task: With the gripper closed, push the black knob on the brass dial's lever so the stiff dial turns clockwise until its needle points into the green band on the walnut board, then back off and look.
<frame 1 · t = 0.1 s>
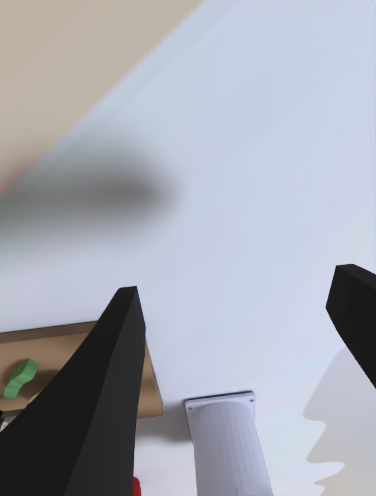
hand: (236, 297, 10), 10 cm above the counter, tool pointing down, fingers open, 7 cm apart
dial: (36, 426, 24), point 4 cm above the counter, hinge at 0.0°
dial board: (73, 376, 27), on the counter
plastic cup: (119, 481, 42), on the counter
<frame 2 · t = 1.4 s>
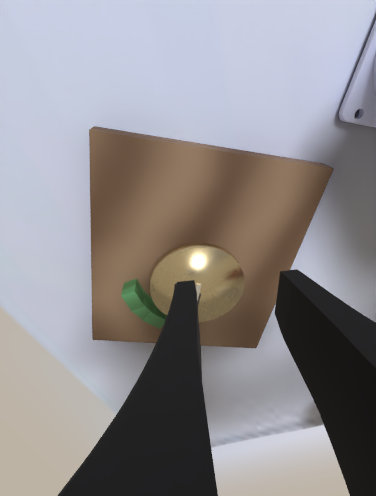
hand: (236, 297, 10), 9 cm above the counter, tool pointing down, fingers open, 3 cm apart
dial: (194, 320, 18), point 4 cm above the counter, hinge at 0.0°
dial board: (192, 258, 20), on the counter
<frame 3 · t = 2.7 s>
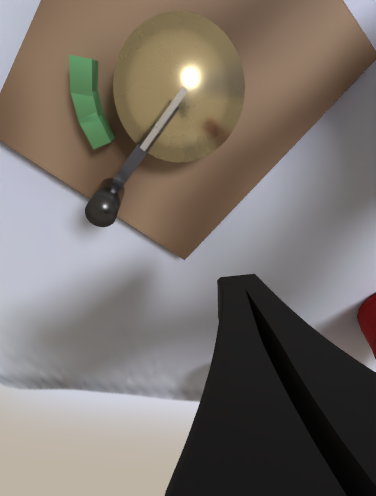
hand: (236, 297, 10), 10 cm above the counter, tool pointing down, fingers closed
dial: (155, 133, 12), point 4 cm above the counter, hinge at 0.0°
dial board: (177, 92, 16), on the counter
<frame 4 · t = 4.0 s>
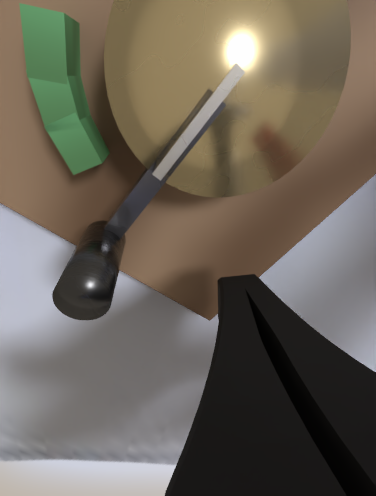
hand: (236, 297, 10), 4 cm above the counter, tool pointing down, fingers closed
dial: (183, 151, 7), point 4 cm above the counter, hinge at 0.0°
dial board: (209, 81, 10), on the counter
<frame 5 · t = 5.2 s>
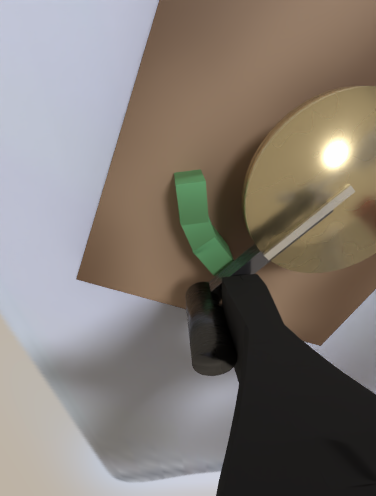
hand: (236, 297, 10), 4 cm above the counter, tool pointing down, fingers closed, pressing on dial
dial: (304, 249, 8), point 4 cm above the counter, hinge at -20.3°, touching gripper
dial board: (294, 166, 12), on the counter
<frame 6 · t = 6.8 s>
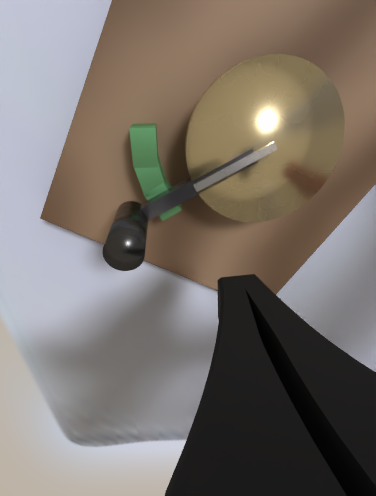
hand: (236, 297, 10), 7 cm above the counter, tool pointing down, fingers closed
dial: (225, 181, 10), point 4 cm above the counter, hinge at -32.8°
dial board: (242, 135, 13), on the counter
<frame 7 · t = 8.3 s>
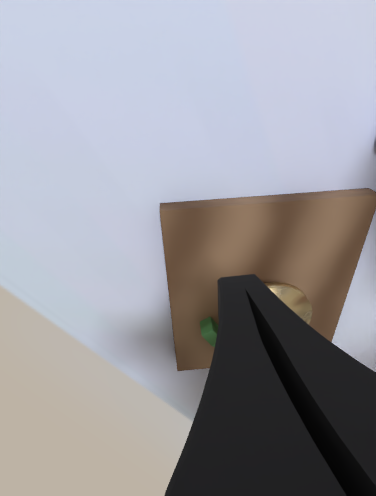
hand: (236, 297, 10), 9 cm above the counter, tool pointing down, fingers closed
dial: (257, 348, 19), point 4 cm above the counter, hinge at -32.7°
dial board: (255, 288, 22), on the counter
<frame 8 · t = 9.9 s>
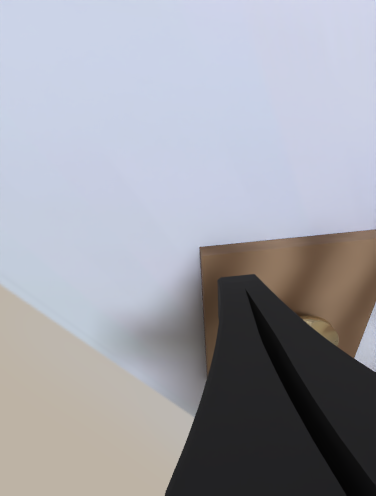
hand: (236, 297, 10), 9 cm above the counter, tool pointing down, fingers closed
dial: (289, 374, 21), point 4 cm above the counter, hinge at -32.7°
dial board: (283, 316, 24), on the counter
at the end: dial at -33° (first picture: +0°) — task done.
